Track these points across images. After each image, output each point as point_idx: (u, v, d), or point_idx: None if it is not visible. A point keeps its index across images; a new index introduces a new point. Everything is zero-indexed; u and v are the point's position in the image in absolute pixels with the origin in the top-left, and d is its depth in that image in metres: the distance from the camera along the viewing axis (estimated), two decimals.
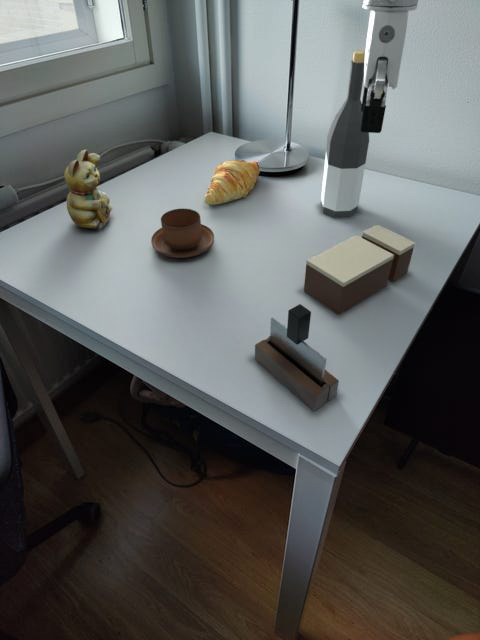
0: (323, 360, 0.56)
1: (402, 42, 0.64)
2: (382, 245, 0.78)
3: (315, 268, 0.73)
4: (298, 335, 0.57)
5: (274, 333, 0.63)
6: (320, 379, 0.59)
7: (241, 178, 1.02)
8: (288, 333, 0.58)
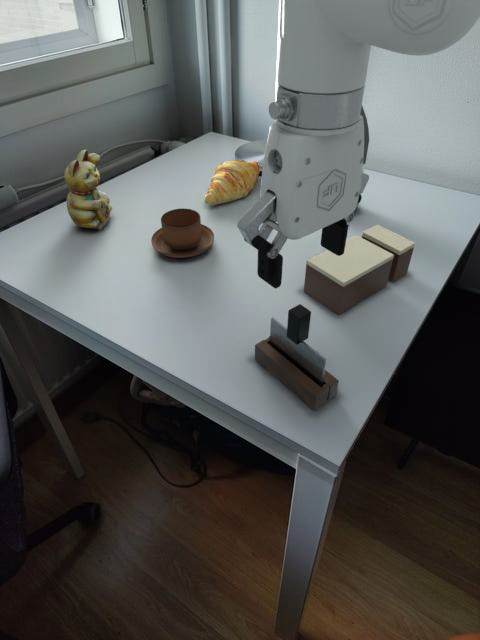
0: (323, 360, 0.56)
1: (293, 180, 0.40)
2: (382, 245, 0.78)
3: (315, 268, 0.73)
4: (298, 335, 0.57)
5: (274, 333, 0.63)
6: (320, 379, 0.59)
7: (241, 178, 1.02)
8: (288, 333, 0.58)
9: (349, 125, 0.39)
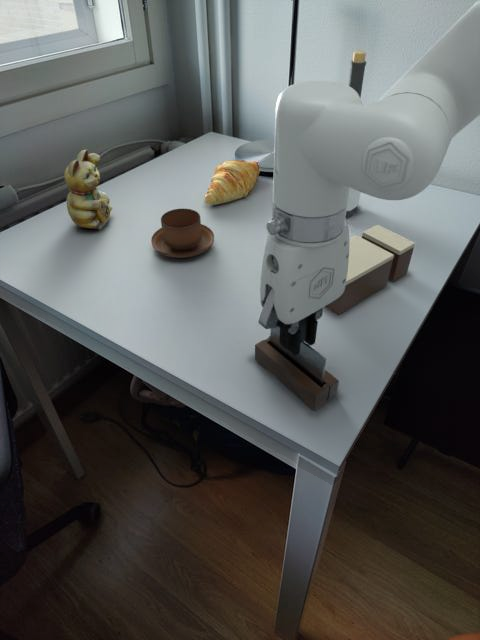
0: (323, 360, 0.56)
1: (288, 281, 0.47)
2: (382, 245, 0.78)
3: None
4: None
5: (274, 333, 0.63)
6: (320, 379, 0.59)
7: (241, 178, 1.02)
8: None
9: (335, 237, 0.46)
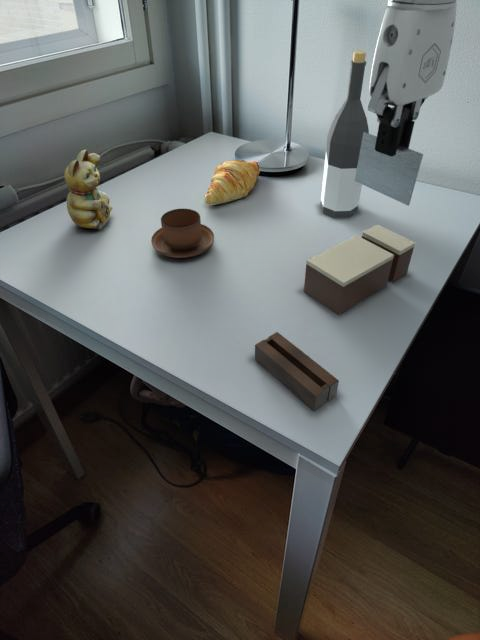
0: (420, 156, 0.61)
1: (406, 48, 0.52)
2: (382, 245, 0.78)
3: (315, 268, 0.73)
4: None
5: (365, 149, 0.68)
6: (413, 180, 0.64)
7: (241, 178, 1.02)
8: None
9: (451, 2, 0.51)
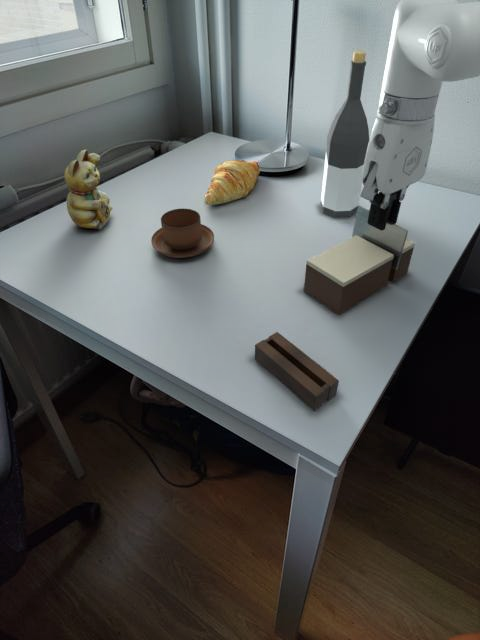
0: (406, 232, 0.72)
1: (392, 153, 0.63)
2: None
3: (315, 268, 0.73)
4: None
5: (359, 219, 0.79)
6: (400, 250, 0.74)
7: (241, 178, 1.02)
8: None
9: (429, 118, 0.62)
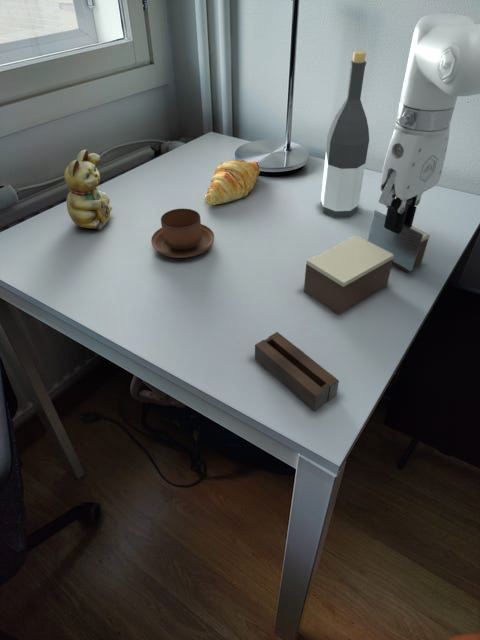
0: (421, 235, 0.76)
1: (410, 162, 0.67)
2: None
3: (315, 268, 0.73)
4: None
5: (375, 223, 0.82)
6: (415, 253, 0.78)
7: (241, 178, 1.02)
8: None
9: (445, 128, 0.65)
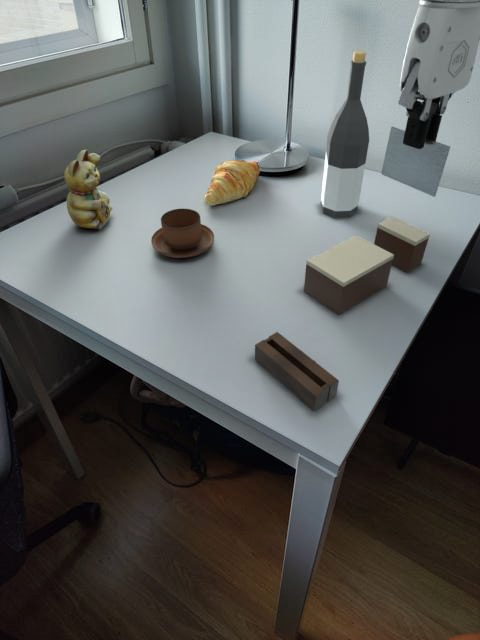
0: (447, 148, 0.64)
1: (437, 44, 0.55)
2: (397, 236, 0.80)
3: (315, 268, 0.73)
4: None
5: (392, 143, 0.71)
6: (440, 172, 0.66)
7: (241, 178, 1.02)
8: None
9: None
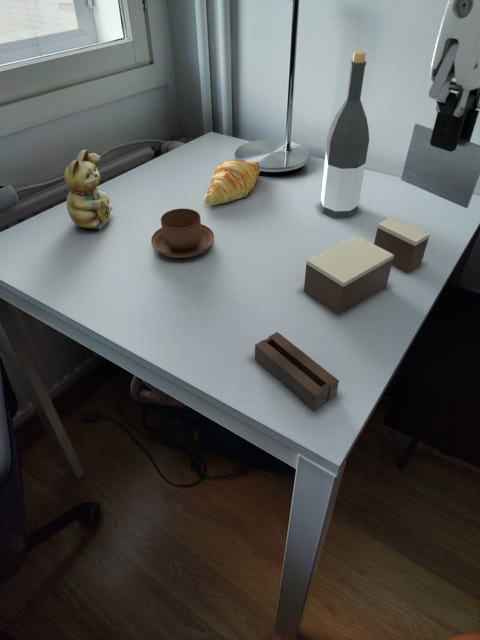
0: None
1: None
2: (397, 236, 0.80)
3: (315, 268, 0.73)
4: None
5: (416, 143, 0.59)
6: (475, 179, 0.55)
7: (241, 178, 1.02)
8: None
9: None
